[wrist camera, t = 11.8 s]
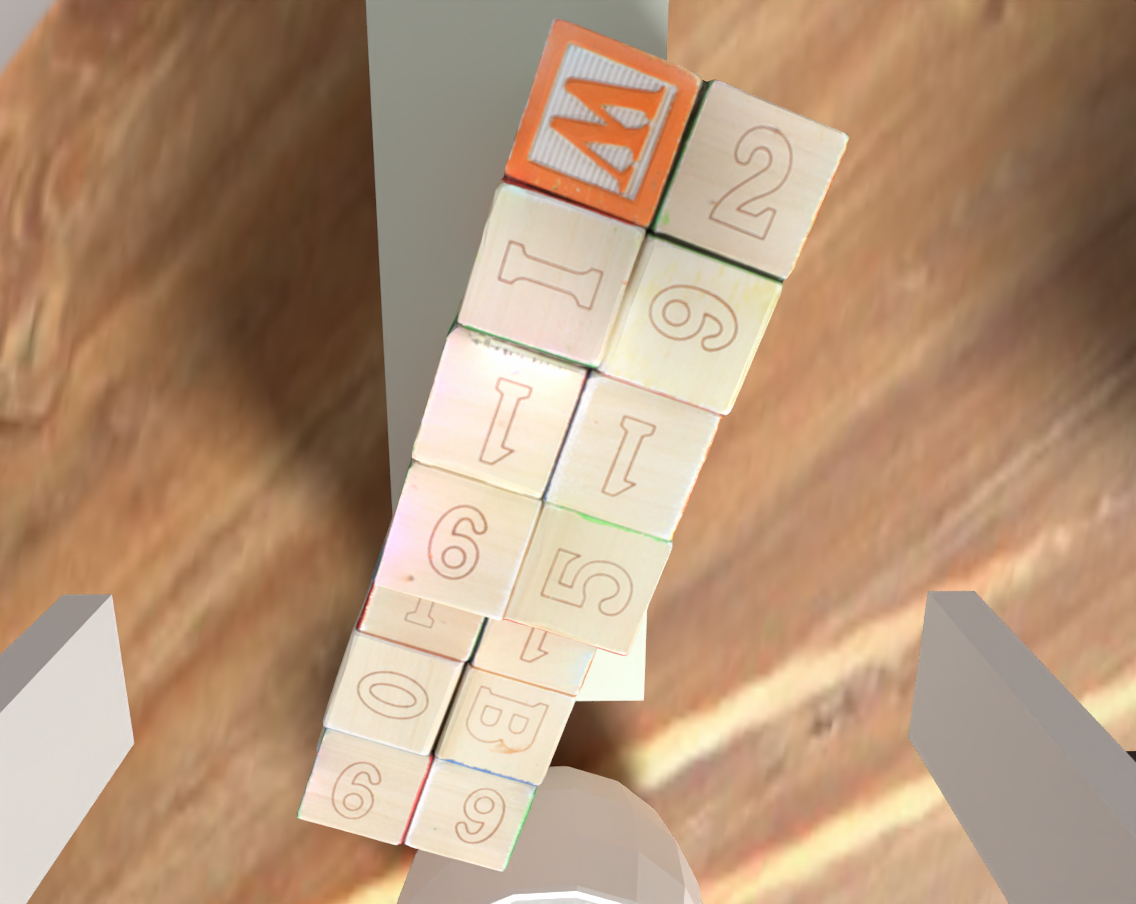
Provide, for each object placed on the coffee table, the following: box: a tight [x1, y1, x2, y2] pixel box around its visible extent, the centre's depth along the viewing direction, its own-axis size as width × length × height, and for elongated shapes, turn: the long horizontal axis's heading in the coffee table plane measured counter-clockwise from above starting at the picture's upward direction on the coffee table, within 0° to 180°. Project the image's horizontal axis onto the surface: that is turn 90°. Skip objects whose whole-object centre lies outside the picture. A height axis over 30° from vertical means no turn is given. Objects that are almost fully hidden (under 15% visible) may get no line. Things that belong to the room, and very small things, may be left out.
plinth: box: [366, 0, 669, 701], centre depth 35 cm, size 9×24×5 cm, turn 0°
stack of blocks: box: [297, 18, 849, 872], centre depth 27 cm, size 21×6×12 cm, turn 160°
